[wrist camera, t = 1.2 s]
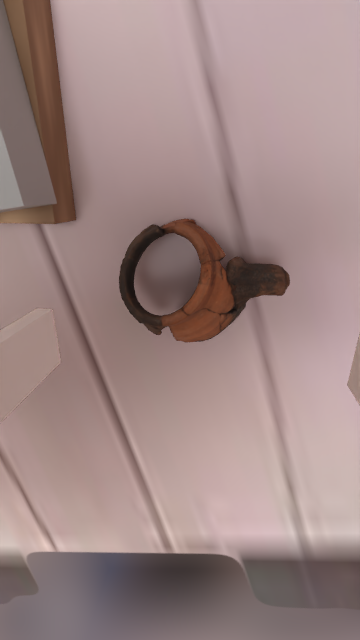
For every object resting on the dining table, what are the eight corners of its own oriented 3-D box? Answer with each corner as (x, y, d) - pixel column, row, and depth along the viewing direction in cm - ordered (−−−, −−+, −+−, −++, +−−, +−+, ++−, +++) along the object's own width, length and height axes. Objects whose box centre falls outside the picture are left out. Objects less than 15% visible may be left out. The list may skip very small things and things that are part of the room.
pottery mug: (168, 344, 30) (112, 348, 23) (161, 248, 31) (105, 221, 23) (302, 333, 24) (285, 332, 17) (289, 216, 25) (267, 168, 18)
